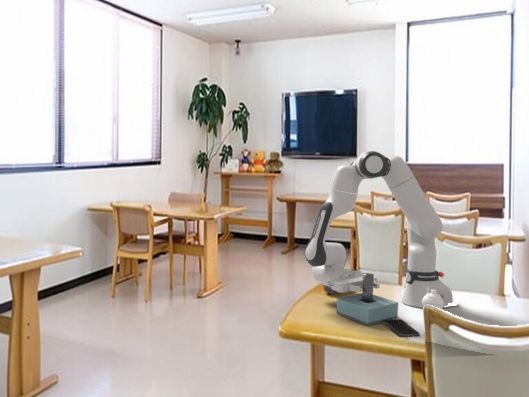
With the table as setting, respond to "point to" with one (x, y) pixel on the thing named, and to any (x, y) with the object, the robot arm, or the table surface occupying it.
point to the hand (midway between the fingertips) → (369, 288)
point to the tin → (329, 289)
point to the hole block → (367, 309)
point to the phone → (400, 328)
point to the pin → (367, 287)
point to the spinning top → (433, 299)
